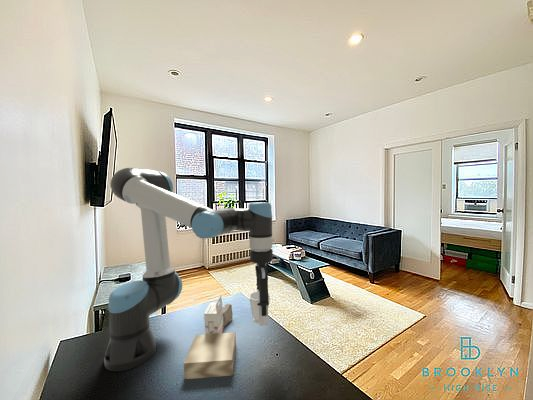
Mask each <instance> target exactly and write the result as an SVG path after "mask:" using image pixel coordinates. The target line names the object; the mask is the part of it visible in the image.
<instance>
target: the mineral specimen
mask: <svg viewBox="0 0 533 400" xmlns="http://www.w3.org/2000/svg"><path fill="white" fill-rule="evenodd" d="M222 310H223V329H224V328H225V327H226V326H227V325H228V323H230V322H231V321H232V320H233V306H232V303H226V304H225V305H224V306H222Z"/></svg>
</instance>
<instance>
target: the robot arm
mask: <svg viewBox="0 0 533 400" xmlns="http://www.w3.org/2000/svg"><path fill="white" fill-rule="evenodd" d="M109 183H110V189H111V192H112V194H113V195H114V196H116V197H117V198H118V199H120V200H121V201H124V202H126V203H127V204H130V205H131V204H132V205H133V204H134V205H135V207H138V208H139V209H140V215H141V216H140V217H141V226H142V236H143V237H142V239H143V246H144V248H143V249H144V250H143V251H144V257H145V258H144V259H145V267H146V268H145V271H144V273H143V274H142V280H134V281H131V282H126V283H124V284H122V285H119V286H118V287H116V288H115V289H114V290H112V292H110V294H109V297H108V305H107V309H108V320H109V322H108V324H109V325H108V326H109V340H108V341H109V342H108V344H107V347H106V350H105V353H104V358H103V361H104V363H103V364H104V368H105V369H106V370H108V371H110V372H123V371H127V370H131V369H135V368H136V367H139V366H140V365H142V364H144V363H145V362H147V361H148V360H149V359H151V357H153V355H154V354H155V353H156V350H157V341H156V338H155V336H154V334H153V331H152V329H151V326H150V316H152V314H154V313H156V312H158V311H159V310H161V309H163V308H165V307H166V306H168V305H170V304H171V303H173V302H174V301H175V300H177V299H178V297H179V296H180V295H181V293H182V290H183V281H182V278H181V276H180V274H179V273H177V272H176V271H175V268H174V267H173V266H171V260H170V250H169V249H170V248H169V239H168V230H167V220H166V218H169V219H171V220H172V221H175V222H176V223H177V222H178V223H180V224H182V225H185V226H186V227H189V228H191V229H192V232H193V233H194V234H195V236H196V237H197V238H200V239H205V240H206V239H213V238H217V237H218V236H221V235H223V234H227V233H231V232H233V231H244V232H247V231H249V232H248V233H249V248H250V250H249V261H250V262H252V264H256V265H255V266H254V267H255V276H256V292H259V297H260V302H259V303H257V305H258V306H259V323H260V324H259V326H269V307H268V305H269V306H270V299H269V300H268V293H269V281H268V280H269V275H268V274H269V267H268V265H267V264H268V263H271V262H272V261H273V259H274V257H273V254H274V253H273V252H274V251H273V249H272V248H273V242H274V241H275V238H273V213H272V211H273V210H272V204H271V203H270V202H267V201H266V202H264V201H263V202H262V201H260V202H256V201H255V202H249V204H248V207H247V208H238V207H237V208H235V207H234V208H233V207H225V208H219V209H217V210H216V209H214V208H210V207H208V206H205V205H204V204H200V203H198V202H196V201H193V200H191V199H188V198H186V197H183V196H181V195H179V194H176V193H174V184H173V181H172V179H171V178H170V176H169V175H167V174H166V173H165V172H164V171H158V170H155V169H144V168H143V169H142V168H137V167H125V168H122V169H120V170H117V172H116V171H115V173H114V174H113V175H112V177H111V179H110V182H109Z"/></svg>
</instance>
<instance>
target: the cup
mask: <svg viewBox="0 0 533 400" xmlns="http://www.w3.org/2000/svg"><path fill="white" fill-rule="evenodd" d="M248 295H249V297H248V298H249V302H250V304H249V305H250V309H251V315H252V318H253V323H255V324H257V325H260V323H259V306H258V305H257V303H259V302H260V297H259V292H257V291H254V292H252V293H249V294H248ZM270 296H271V295H270V293H269V292H268V300H269V301H270V300H271V297H270ZM269 307H270V304H269V305H268V308H269Z"/></svg>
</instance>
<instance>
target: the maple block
mask: <svg viewBox="0 0 533 400" xmlns="http://www.w3.org/2000/svg"><path fill="white" fill-rule="evenodd" d="M236 343H237V339H236V332H223V333H219V334H204V333H203V334H195V335H194V338H193V340H192V343H191V345H190V348H189V349H188V353H187V355H186V357H185V359H184V362H183V378H184V380H193V379H194V380H195V379H205V378H206V379H207V378H215V377H217V378H218V377H228V376H229V377H230V376H233V375H234V367H235V358H236V357H235V355H236V350H237V349H236V348H237V344H236Z"/></svg>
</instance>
